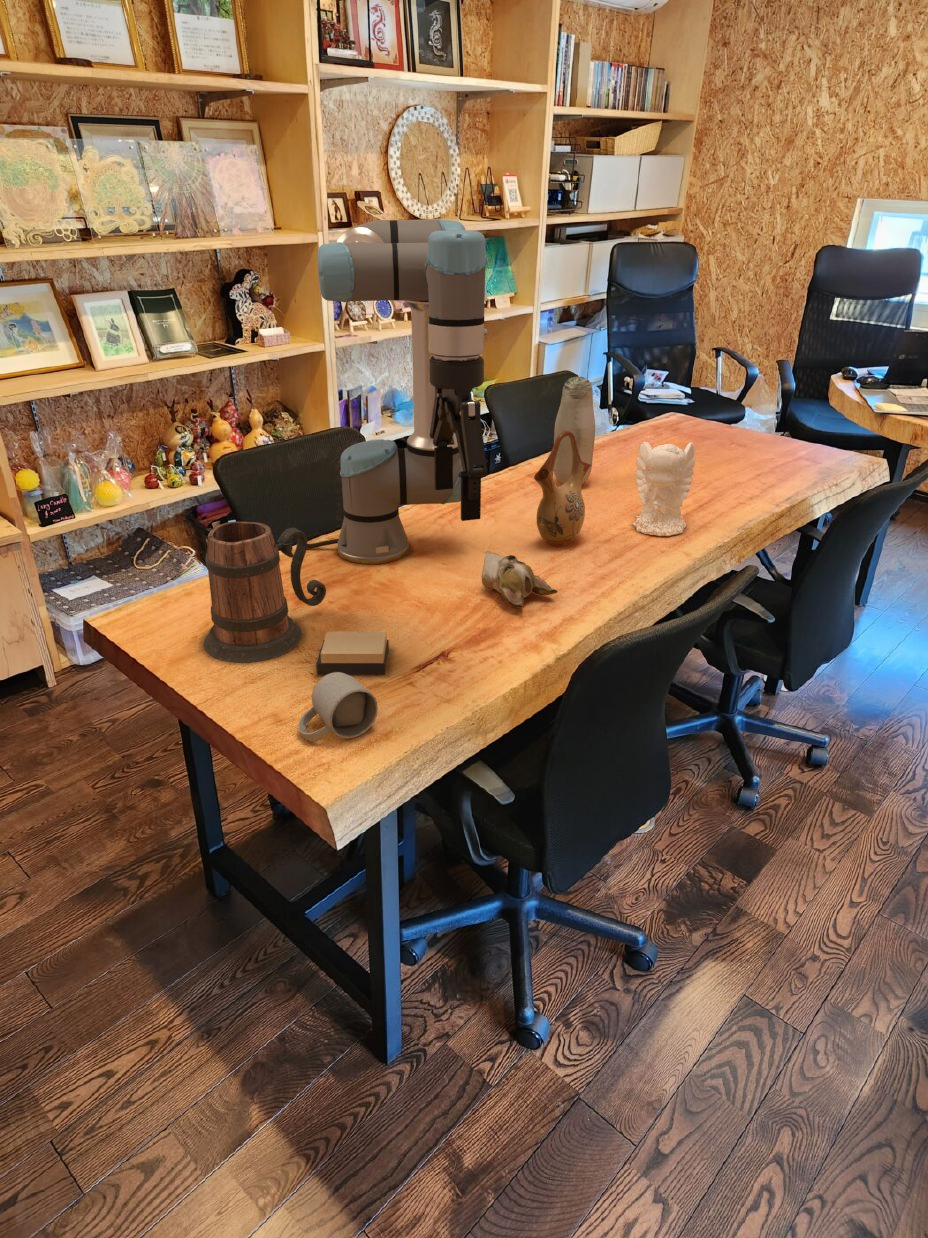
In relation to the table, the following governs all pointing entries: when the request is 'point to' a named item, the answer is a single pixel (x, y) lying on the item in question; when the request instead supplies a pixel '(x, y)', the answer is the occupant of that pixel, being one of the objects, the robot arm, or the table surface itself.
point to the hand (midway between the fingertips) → (456, 503)
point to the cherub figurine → (663, 487)
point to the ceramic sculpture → (512, 579)
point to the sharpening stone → (354, 653)
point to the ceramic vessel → (561, 498)
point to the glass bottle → (575, 426)
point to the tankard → (253, 592)
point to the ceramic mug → (340, 707)
